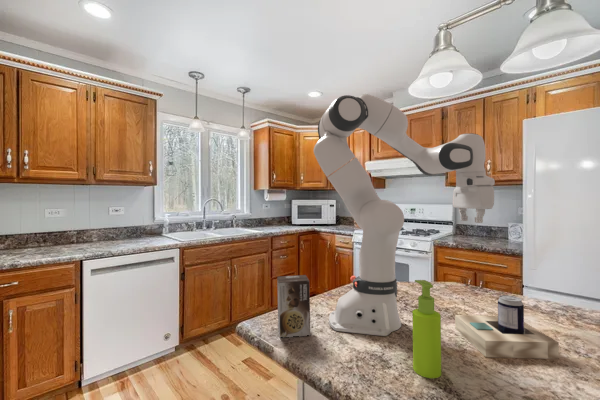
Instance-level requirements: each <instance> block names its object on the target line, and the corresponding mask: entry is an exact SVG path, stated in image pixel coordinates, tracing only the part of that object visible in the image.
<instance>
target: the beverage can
mask: <svg viewBox="0 0 600 400" xmlns="http://www.w3.org/2000/svg"><path fill="white" fill-rule="evenodd" d="M524 308H525V305H524V303H523V300H522V298H520V297H518V296H514V295H508V294H507V295H505V294H503V295H499V298H498V299H497V316H498V331H500V332H501V333H502V334H524V322H525V317H524V316H525V311H524V310H525V309H524Z"/></svg>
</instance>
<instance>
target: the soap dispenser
mask: <svg viewBox="0 0 600 400" xmlns="http://www.w3.org/2000/svg"><path fill="white" fill-rule="evenodd" d="M414 283H417V284H419V285H420V286H421V294H420V295H418V296H417V298H418V299H417V308H415V309H413V310H412V369H413V371H414V372H415V373H416V374H417V375H419V376H421V377H423V378H426V379H437V378H440V377H441V376H442V327H441V326H442V322H441V321H442V318H441V316H442V315H441V314H440V312H438V311H436V310H435V298H434V297H433V296H431V289H433V288H434V284H432V283H431V282H430V281H428V280H425V279H415V280H414Z"/></svg>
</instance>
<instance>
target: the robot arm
mask: <svg viewBox="0 0 600 400" xmlns="http://www.w3.org/2000/svg"><path fill="white" fill-rule="evenodd" d="M408 127H409V120H408V117H407V115H406V114H405V113H404V112H403V111H402V110H401V109H400V108H398V107H396V106H395V105H392V103H389V102H388V101H386V100H384V99H381V98H379V97H377V96H374V95H371V94H369V93H365V94H361V95H359V96H354V95H349V94H348V95H341V96H339V97H337V98H335V99H334V100H333V101H332V102H331V104H330V105H329V107H328V108H326V109H325V111H324V112H323V114H322V116H321V118H320V120H319V122H318V124H317V133H318V140H317V142H316V143H315V144H314V146H313V155H314V157H315V159H316V161H317V164H318V165H319V167H320V169H321V170H322V172H323V174H324V175H325V176H326V178H327V180H328V181H329V182H330V183H331V185H332V187H333V188H334V189H335V191H336V192H337V194H338V195H339V196H340V198H341V200H342V202H343V203H344V205H345V207H346V208H347V210H348V212H349V213H350V216H351V217H352V219H353V220H354V222H355V223H356V225H357V226H358V228H360V229H361V230H362V237H361V245H360V249H359V253H358V256H359V257H358V263H359V264H358V269H359V270H358V271H359V274H358V276H356V275H351V277H349V278H350V282H351V283H352V288H351V289H350V290H349V291H348V292H346V293H344V294H343V295H341V296H340V297H339V298H338V299H337V303H336V307H335V310H332V311H331V312H330V313H329V316H328V323H329V326H330V327H331V328H332V329H333V331H337V332H343V333H344V332H345V333H352V334H353V333H354V334H364V335H371V336H372V335H373V336H382V337H387V336H389V335H390V334H391V332H395V331H397V330H399V329H400V328H401V327H402V322H401V318H400V314H399V309H398V304H397V297H398V282H397V278H396V251H397V246H398V241H399V236H400V232H401V230H402V228H403V226H404V223H405V216H404V212H403V210H402V209H401V207H399V206H398V205H397V204H396V203H394V202H393V201H390V200H388V199H381V198H380V197H379V195H378V194H377V192H376V190H375V187H374V185H373V183H372V178H371V176H370V175H369V173H368V172H367V170H366V169H365V168H364V166H363V165H362V163H361V162H360V160H359V159H358V158H357V156H356V155H355V153H354V152H353V151H352V150H351V149H350V147H349V144H348V138H349V137H350V136H351V135H352V134H353V133H354V132H355V131H356V129H361V130H363V131H366V132H367V133H369V134H371V135H373V136H374V137H375V138H377V139H379V140H381V141H383V142H384V143H386V144H387V145H388V146H389V147H390V148H391V149H393V150H395V151H396V152H397V153H398V154H400V155H402V156H404V157H405V158H407V159H408V160H409V161H410V162H412V163H413V164H414V165H415V166H416V168H417V169H418V170H419V172H421V174H423V175H425V176H427V177H428V176H429V177H431V176H435V175H440V174H444V173H448V172H450V173H451V172H454V171H455V187H454V189H453V192H452V207H453V208H455V209H458V213H459V216H460V221H462V222H467V221H469V219H468V217H469V216H468V215H467V209H470V210H471V209H472V210H473V209H474V210H475V212H476V216H475V217H474V223H477V224H483V222H484V219H483V218H484V216H485V214H486V210H492V209H493V208H494V205H495V189H494V187H493V186H495V183H496V182H495V179H494V177H491V176H488V175H487V172H486V168H485V162H486V155H487V154H486V145H485V141H484V138H483V136H482V135H480V134H478V133H472V132H471V133H462V134H459V135H458V136H457V137H456V138H454V139H453V140H450V141H448V142H446V143H443V144H440V145H437V146H434V147H425V146H422V145H421V144H419V143H418V142H416V141H415V140H414V139H412V138H411V137H410V136H408V134H407V130H408Z"/></svg>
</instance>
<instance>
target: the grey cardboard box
mask: <svg viewBox="0 0 600 400" xmlns="http://www.w3.org/2000/svg"><path fill="white" fill-rule="evenodd" d="M276 279H277V282H276V283H277V287H276V288H277V329H278V330H277V331H278V336H280V337H289V338H294V337H293V336H299V337H307V335H309V336H311V334H312V333H311V307H310V306H311V299H310V297H311V295H310V293H311V292H310V279H309V278H308V276H307V275H306V274H301V275H300V274H298V275H296V274H295V275H283V276H281V275H280V276H277V277H276ZM280 337H279V338H280Z"/></svg>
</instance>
